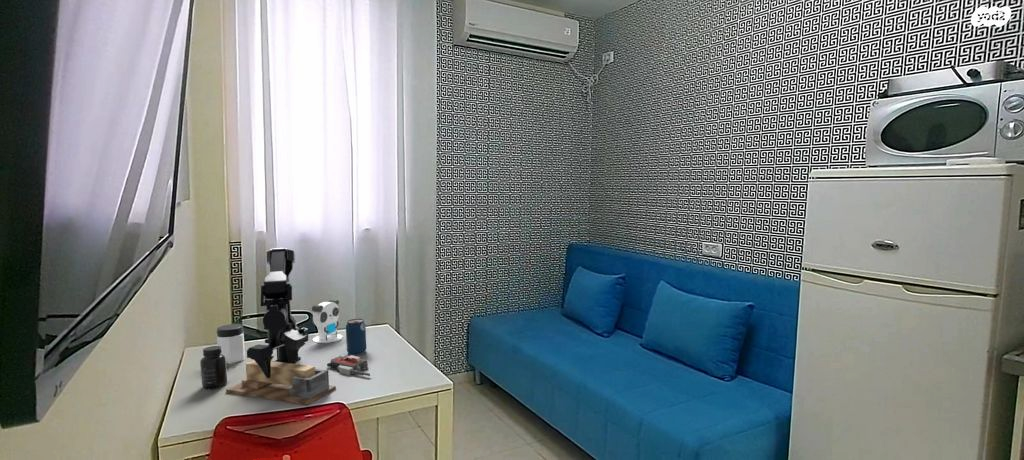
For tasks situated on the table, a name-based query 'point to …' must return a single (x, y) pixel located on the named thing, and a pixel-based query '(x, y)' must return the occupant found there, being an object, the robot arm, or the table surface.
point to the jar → (231, 342)
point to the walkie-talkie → (349, 365)
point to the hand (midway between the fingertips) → (280, 372)
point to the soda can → (356, 336)
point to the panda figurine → (326, 321)
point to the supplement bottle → (213, 368)
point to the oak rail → (279, 372)
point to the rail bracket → (288, 389)
